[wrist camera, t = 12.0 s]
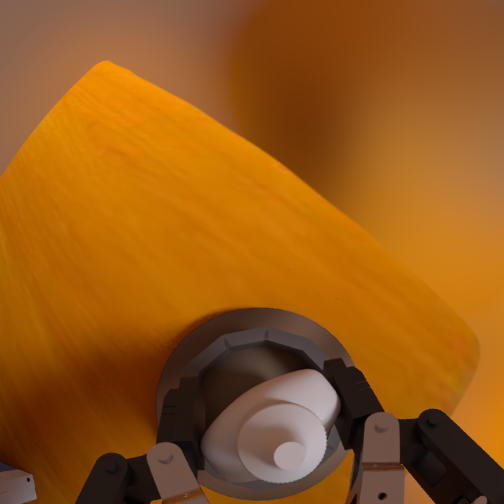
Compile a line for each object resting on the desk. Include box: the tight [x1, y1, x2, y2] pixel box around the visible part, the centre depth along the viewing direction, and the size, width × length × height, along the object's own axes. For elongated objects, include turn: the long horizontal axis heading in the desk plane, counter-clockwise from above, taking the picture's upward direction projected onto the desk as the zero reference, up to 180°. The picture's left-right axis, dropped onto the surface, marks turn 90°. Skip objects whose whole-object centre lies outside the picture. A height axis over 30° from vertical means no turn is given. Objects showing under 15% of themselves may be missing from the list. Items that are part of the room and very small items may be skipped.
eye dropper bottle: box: [200, 369, 341, 484], centre depth 10 cm, size 4×6×12 cm
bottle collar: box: [156, 308, 355, 501], centre depth 17 cm, size 14×14×4 cm
